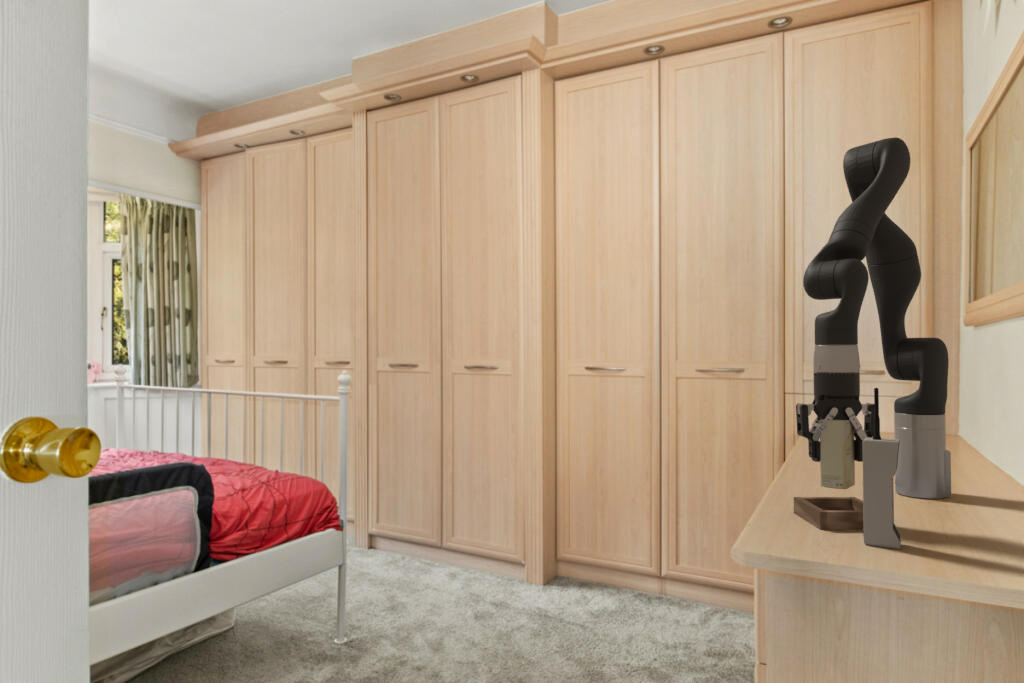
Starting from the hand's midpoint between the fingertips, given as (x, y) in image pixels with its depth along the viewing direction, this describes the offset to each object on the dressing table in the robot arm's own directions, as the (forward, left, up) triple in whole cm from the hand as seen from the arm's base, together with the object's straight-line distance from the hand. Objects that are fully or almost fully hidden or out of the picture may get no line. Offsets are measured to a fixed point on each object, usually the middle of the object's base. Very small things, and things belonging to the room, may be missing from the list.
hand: (837, 460), depth 118 cm
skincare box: (0, 0, -5) cm, 5 cm away
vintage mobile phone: (0, +14, -11) cm, 18 cm away
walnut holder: (0, 0, -11) cm, 11 cm away
